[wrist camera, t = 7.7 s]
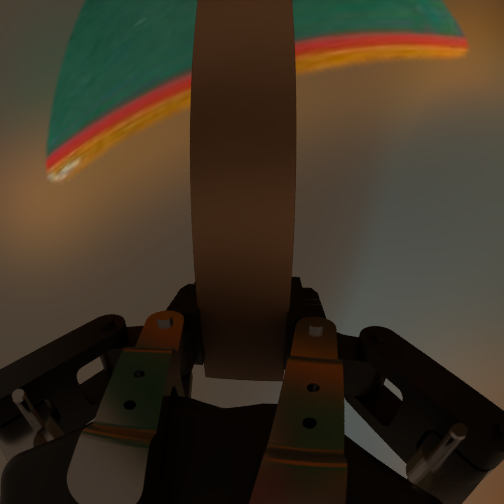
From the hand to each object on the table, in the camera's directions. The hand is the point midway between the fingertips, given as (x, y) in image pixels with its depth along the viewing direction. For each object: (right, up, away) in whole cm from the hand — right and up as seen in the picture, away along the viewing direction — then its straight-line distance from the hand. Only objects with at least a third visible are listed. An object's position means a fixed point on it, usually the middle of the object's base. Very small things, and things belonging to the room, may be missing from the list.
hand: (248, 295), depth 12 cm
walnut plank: (0, +7, -1) cm, 7 cm away
